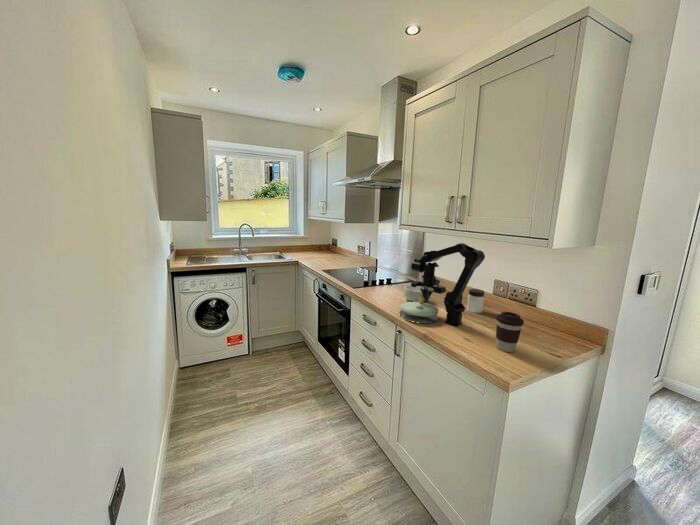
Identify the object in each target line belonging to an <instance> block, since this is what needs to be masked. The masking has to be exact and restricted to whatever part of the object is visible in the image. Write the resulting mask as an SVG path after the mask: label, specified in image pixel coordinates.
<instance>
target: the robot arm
mask: <svg viewBox="0 0 700 525" xmlns="http://www.w3.org/2000/svg"><path fill="white" fill-rule="evenodd" d="M457 253H459V254H460V255H461V256H462V257H463V258H464V266H463V269H462V271H461V274H460V275H459V278H458V279H457V281H456V283H455V286H454V287H453V290H452V291H447V289H446V286H442V285H440V282H441V280H439V279H437V277H436V276H435V272H436V268H439V267H440V266H439V264H438V263H437V262H436V261H438V260H440V259H441V258H443V257H446V256H451V255H454V254H457ZM485 258H486V256H485V253H484V252H483V250H480V249H476V248H474V247H472V246H469V245H468V244H466V243H464V242H461V243H457V244H454V245H450V246H448V247H444V248H441V249H438V250H436V249H435V250H426V251H424V252H423V254H422V257H421V258H420V259H419V258H415V259H414V260H413V262H412V263H411V265H410V268H411V271H413V272H417V273H423V275H421V278H422V280H413V281H411V282H410V285H411V287H416V286H420V287H421V288H420V290H421V292H422V294H423V296H424V301H425V303H428V302H429V300H430V297H431V296H432V295H433V293H435V294H444V293H445V297H443V304H444V306H445V307H444V308H445V311H446V319H445V321H444V323H445V324H448V325H451V326H454V327H459V326H462V325H463V324H464V323H463V322H462V320H463V313H464V312H465V310H466V307H465V305H464V304H463V303H462V302H463V295H464V294H463V293H464V292H465V289H466V288H467V285H468V283H469V282H470V280H471V279H472V276H473V273H474V272H475V270H476V269H477V268H479V266H480V265H481V264H482V263H483V262H484V261H485Z"/></svg>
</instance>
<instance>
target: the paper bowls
mask: <svg viewBox="0 0 700 525" xmlns="http://www.w3.org/2000/svg"><path fill="white" fill-rule="evenodd" d="M420 288H421V287H420V286H416V287H411V284H409V285H405V286H404V287H403V296H405V297H406V300H408V302H411V301H412V302H419V296H420V295H423V294H422V292H421V290H420Z"/></svg>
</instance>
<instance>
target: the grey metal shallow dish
mask: <svg viewBox="0 0 700 525" xmlns="http://www.w3.org/2000/svg"><path fill="white" fill-rule="evenodd" d="M399 314H400V316H401V317H403V318H404V319H407V320H410V321H414V322H419V323H431V324H434V323H437V322H438V321H439V317H438V314H437V315H435V316H428V317H424V316H415V315H411V314H408V313H405V312H403V311H402V310H401V309H400V311H399ZM399 314H398V315H399ZM400 316H399V317H400ZM401 317H400V318H401ZM404 319H403V320H404Z"/></svg>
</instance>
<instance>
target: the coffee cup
mask: <svg viewBox="0 0 700 525" xmlns="http://www.w3.org/2000/svg"><path fill="white" fill-rule="evenodd" d="M495 319H496V321H497V322H496V327H495V328H496V330H495V331H496V332H495V338H496V339H495V347H496V348H497V349H498V350H500V351H503V352H507V353H514V352H515V351H516V348H517V344H518V342H519V339H520V335H521V331H522V326H523V325H524V323H525V320H524V319H523V318H521V316H520V315H519V314H517V313H514V312H510V311H503V312H501V313H499V314H496V317H495Z"/></svg>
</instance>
